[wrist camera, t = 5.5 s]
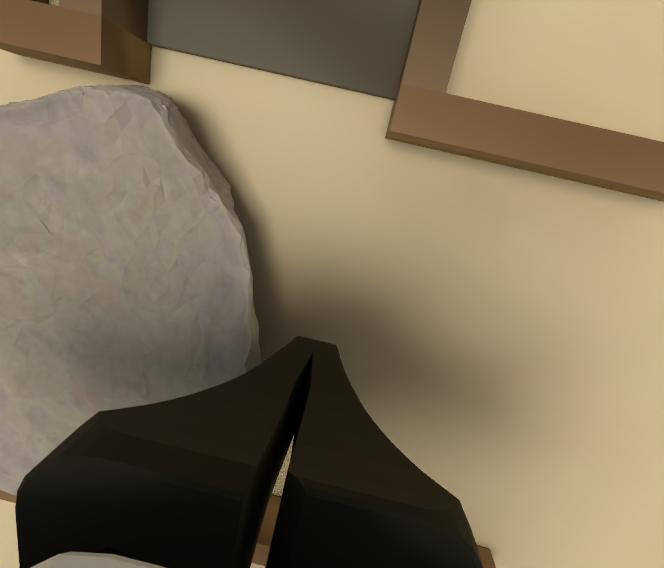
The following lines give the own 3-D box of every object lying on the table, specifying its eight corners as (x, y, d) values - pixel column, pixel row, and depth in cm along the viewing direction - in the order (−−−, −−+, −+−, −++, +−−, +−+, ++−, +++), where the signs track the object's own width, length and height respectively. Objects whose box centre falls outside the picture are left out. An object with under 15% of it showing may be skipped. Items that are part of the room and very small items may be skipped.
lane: (481, 566, 15) (498, 624, 13) (-365, 355, 16) (-466, 381, 14) (793, -60, 8) (919, -128, 6) (-689, -374, 9) (-972, -520, 7)
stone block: (207, 77, 12) (-91, 163, 12) (157, 15, 7) (-335, 153, 7) (310, 377, 16) (84, 448, 15) (320, 460, 11) (-4, 564, 11)
